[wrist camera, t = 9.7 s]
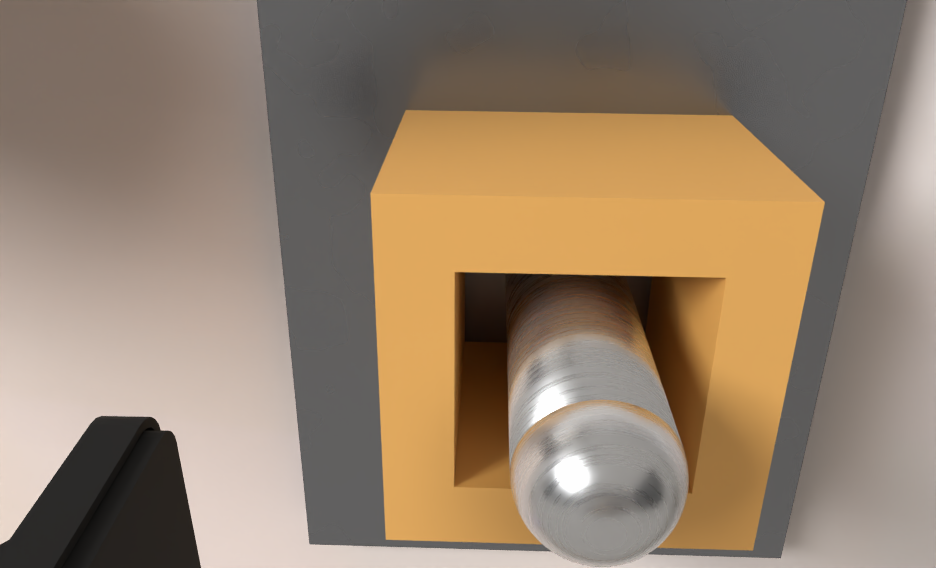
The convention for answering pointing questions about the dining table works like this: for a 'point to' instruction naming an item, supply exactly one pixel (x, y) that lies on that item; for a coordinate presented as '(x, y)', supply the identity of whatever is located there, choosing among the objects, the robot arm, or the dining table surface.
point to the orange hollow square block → (584, 253)
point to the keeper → (552, 295)
